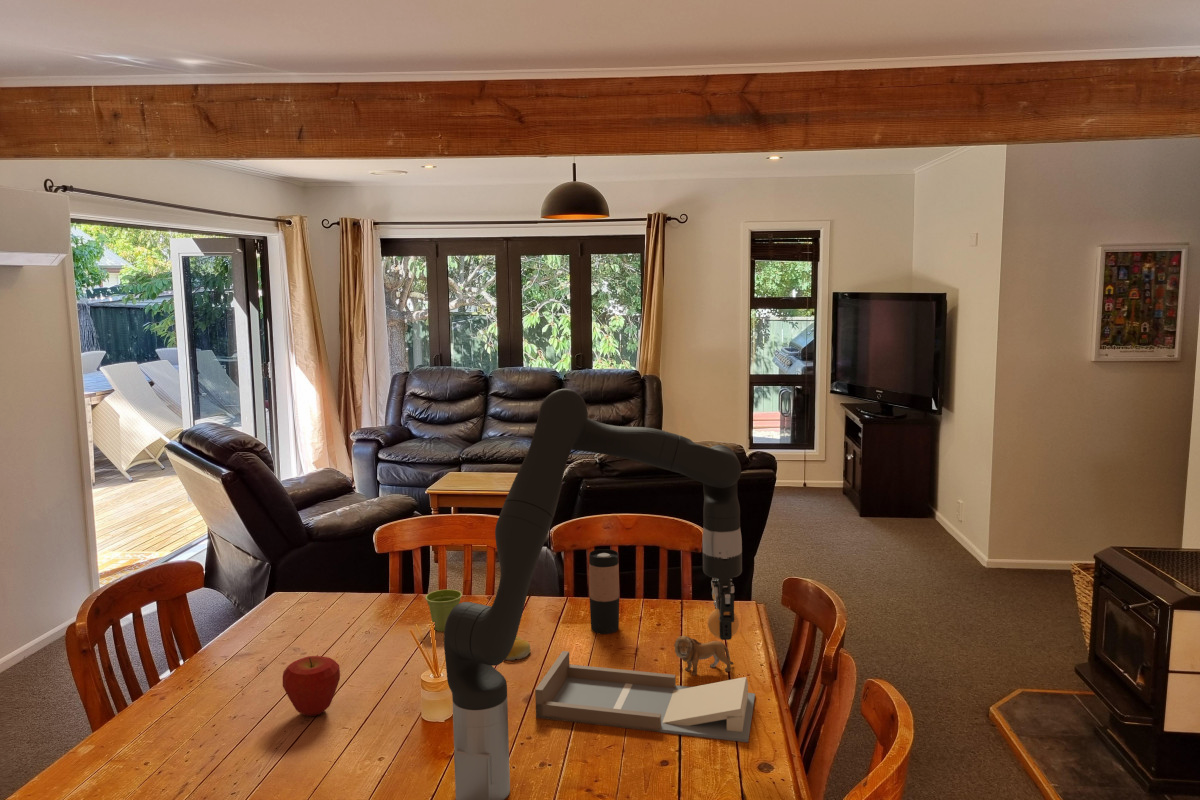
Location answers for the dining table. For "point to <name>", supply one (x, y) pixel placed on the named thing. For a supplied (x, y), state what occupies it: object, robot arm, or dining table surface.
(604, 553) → the travel mug
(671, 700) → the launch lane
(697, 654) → the lion figurine
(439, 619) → the plant pot
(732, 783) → the dining table surface
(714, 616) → the rubber ball
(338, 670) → the apple
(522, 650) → the bread roll
